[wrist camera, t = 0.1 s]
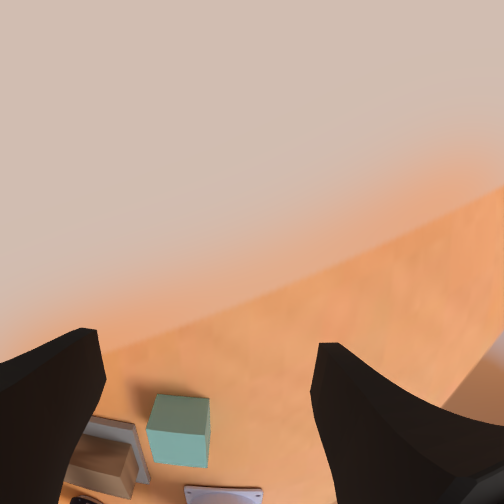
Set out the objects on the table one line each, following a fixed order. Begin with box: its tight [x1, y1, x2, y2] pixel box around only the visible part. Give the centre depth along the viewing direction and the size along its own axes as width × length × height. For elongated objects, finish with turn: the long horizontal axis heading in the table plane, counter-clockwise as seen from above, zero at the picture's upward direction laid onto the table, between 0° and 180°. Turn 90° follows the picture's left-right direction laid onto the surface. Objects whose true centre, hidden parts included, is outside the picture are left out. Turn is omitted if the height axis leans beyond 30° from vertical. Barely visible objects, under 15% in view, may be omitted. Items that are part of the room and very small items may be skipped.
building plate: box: [83, 416, 151, 484], centre depth 23 cm, size 9×9×1 cm
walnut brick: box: [64, 434, 139, 500], centre depth 21 cm, size 8×4×4 cm, turn 87°
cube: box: [146, 394, 211, 468], centre depth 20 cm, size 4×4×4 cm
